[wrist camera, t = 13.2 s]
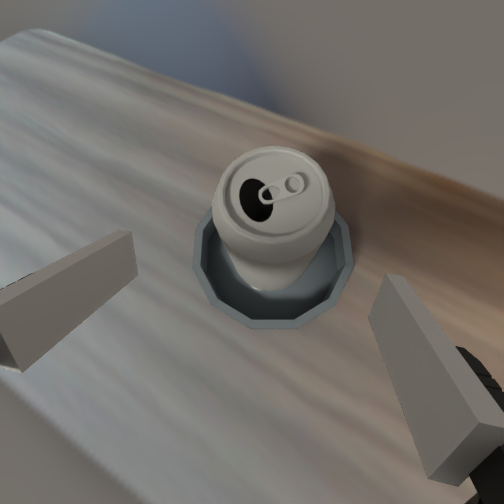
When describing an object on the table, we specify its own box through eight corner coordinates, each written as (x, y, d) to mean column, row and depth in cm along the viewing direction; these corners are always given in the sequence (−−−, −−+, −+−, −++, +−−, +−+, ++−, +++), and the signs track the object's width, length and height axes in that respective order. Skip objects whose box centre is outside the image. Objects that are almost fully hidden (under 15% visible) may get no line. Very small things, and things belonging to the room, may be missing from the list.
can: (226, 232, 25) (193, 152, 14) (293, 214, 26) (315, 120, 14) (243, 301, 23) (221, 271, 12) (318, 280, 23) (368, 231, 12)
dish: (363, 231, 25) (376, 218, 22) (302, 359, 22) (307, 364, 19) (246, 177, 28) (244, 159, 25) (175, 282, 25) (163, 275, 22)
